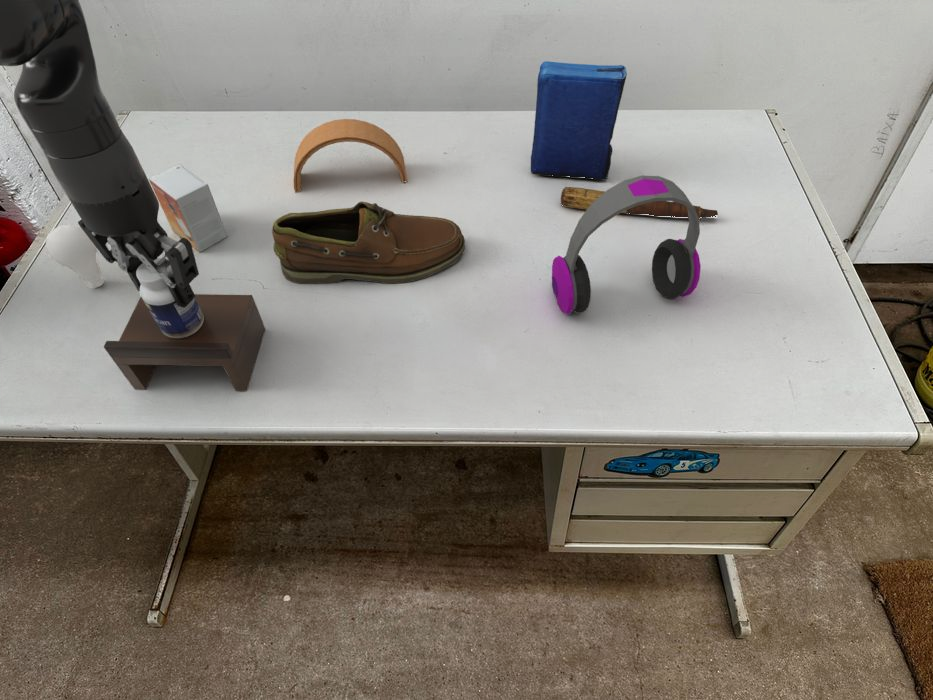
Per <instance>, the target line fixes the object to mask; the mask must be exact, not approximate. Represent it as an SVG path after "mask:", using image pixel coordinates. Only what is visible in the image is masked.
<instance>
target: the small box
mask: <svg viewBox="0 0 933 700" xmlns="http://www.w3.org/2000/svg"><path fill="white" fill-rule="evenodd" d="M148 181H149V183H150V185H151V187H152V189H153V191H154V193H155V195H156V197H157V199H158V202H159V206H160V207H161V209H162V211H163V213H164V215H165V218H166V220H167V222H168V224H169V226H170V228H171V230H172V232H173V233H174V234H176V235H177V236H179V237H180V239H181V238H186V239H187V240H189V241H190V243H191V245H192V249H193V250H195V251H196V252H197V253H201V252H203V251H205V250H206V249H208V248H210V247H212V246H214V245H215V244H218V243H219V242H221V241H223V240H225V239H226V238H228V234H227V230H226V228H225V225H224V222H223V220H222V217H221V215H220V212H219V210H218V207H217V205H216V202H215V200H214V199H215V198H214V197H213V193H212V191H211V188H210V186H209V184H208V183H206V182H205V181H204V180H202V179H201V178H199V177H198V176H196V175H195V174H194V173H193V172H191V171H190V170H188V169H187V168H186V167H185V166H184V165H183V164H181V163H179V164H177V165H174V166H172V167H171V168H168V169H166V170H164V171H162V172H160V173H157V174H155V175H153V176H152V177H149V178H148Z"/></svg>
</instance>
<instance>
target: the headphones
mask: <svg viewBox="0 0 933 700" xmlns="http://www.w3.org/2000/svg"><path fill="white" fill-rule="evenodd" d="M654 201H669V202H677V203H680V204H684V205H685V206H686V207H687V209H688V218H689V219H688V226H687V230H686V236H685V238H684V239H683V238H679V239H673V238H667V239H664V240H663V241H661V242H660V243H659V244H658V246H657V247H656V248H655V250H654V251H653V255H652V259H651V260H652V261H651V275H652V281H653V284H654V287H655V289H656V290H657V292H658V293H659V294H660V295H661V296H662V297H663V298H666V299H668V300H673V299H676V298H677V299H678V298H679V297H680V298H684V297H688V296H690V295H692V294H693V293H694V291H696V289H697V288H698V285H699V282H700V279H701V267H702V266H701V261H700V254H699V252H698V250H697V248H696V247H697V244H698V240H699V238H700V235H701V234H700V233H701V232H700V231H701V230H700V229H701V228H700V220H699V218H698V215H697V212H696V210H695V208H694V207H693V203H692V202H691V201H690V198H688V196H687V195H686V194H685V191H683V189H682V188H680V187H679V186H678V185H677V184H676V183H675V182H674V181H672V180H670V179H669V178H665V177H662V176H660V175H639V176H635V177H631V178H627V179H624V180H622V181H620V182H619V183H617V184H615V185H613V186H611V187H610V188H608V189H606V190H605V192H604V193H603V194H602V195H601V196H600V197H599V198H597V199H596V200H595V201H594V202H593V203H592V204H591V205H590V206H589V208H588V209H587V210H586V209H585V212H584V213H583V214H582V215H581V217H580V218H579V219H578V222H577V224H576V226H575V228H574V230H573V232H572V234H571V237H570V239H569V243H568V247H567V250H566V254H565V256H561V255H557V256H555V257H554V258H553V260H552V264H551V287H552V293H553V295H554V298H555V300H556V303H557V306H558V308H559V309H560V311H561V312H562V313H563V314H564V315H570V314H572V312H574V313H577V314H582V313H584V312H586V311H587V309H589V306H590V303H591V297H592V296H591V295H592V288H591V280H590V275H589V271H588V268H587V265H586V263H585V261H584V260H583V258H582V257H581V255H580V251H581V250H582V249H583V247H584V245H585V243H586V242H587V240H588V238H589V237H590V236H591V235H592V234H593V233H594V232H595V231H597V230H598V229H599V228H600V227H601V226H602V225H603V224H605V223H607V222H608V221H610V220H611V219H613V218H614V217H616V216H617V215H620V214H619V213H621V212H623V211H626V210H628V209H630V208H633V207H635V206H637V205H641V204H645V203H650V202H654Z"/></svg>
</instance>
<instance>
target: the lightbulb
mask: <svg viewBox="0 0 933 700" xmlns="http://www.w3.org/2000/svg"><path fill="white" fill-rule="evenodd" d="M45 249H46V252H47V254H48V255H49V257H50V259H52V260H53V261H54V262H55V263H56V264H58V265H60V266H62V267H64V268H67V269H69V270H70V271H72V272H73V273H74V274H75V275H76V276H77V277H78V278H79V279H80V280H82V281H83V283H84V284H85V285H86V286H87V288H91V289H96V288H99V287H101V286H102V285H103V284H104V283H105V278H104V276H103V274H102V272H101V268H100V266H99V264H98V261H97V252H98V249H97V248H96V246H95V245H94V244H93V243H92V241H91V240H90V239H89V237H88V236H87V235H86V233H85V232H84V231H83V230H82V228H81V227H80V226H79V225H78V224H77V225H76V224H69V223H68V224H62V225H58V226H56V227H55V228H53V229H52V230H51V231H50V232H49V233H48V234H47V237H46V240H45Z"/></svg>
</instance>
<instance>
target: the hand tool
mask: <svg viewBox="0 0 933 700" xmlns="http://www.w3.org/2000/svg"><path fill="white" fill-rule="evenodd" d="M605 191H606V190H605ZM605 191H604V190H598V189H591V188H583V187H572V186H565V187H564V188H563V189H562V191H561V194H560V205H561V204H562V205H563V206H562V205H561V206H562V207H566V208H571V209H572V208H573V209H581V210H585V211H586V210H587V209H588V208H589V206H590V205H591V204H592V203H593V202H594V201H595V200H596V199H597V198H599V197H600V196H601V195H602V194H603V193H604V192H605ZM692 205H693V204H692ZM693 207H694V208H695V210H696V212H697V215H698V218H700V217H702V219H704V218H703V217H711V216H712V217H713V216H715V215H718V216H719V212H718V210H716V209H708V208H703V207H701V206H698V205H693ZM621 213H628V214H627V215H629V213H630V214H649V215H654V216H671V217H672V216H673V217H674V216H675V217H688V209H687V207H686V206H685V205H684V204H680V203H677V202H673V201H654V202H650V203H645V204H641V205H637V206H635V207H633V208H630V209H628V210H626V211H623V212H621ZM715 217H716V216H715Z"/></svg>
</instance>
